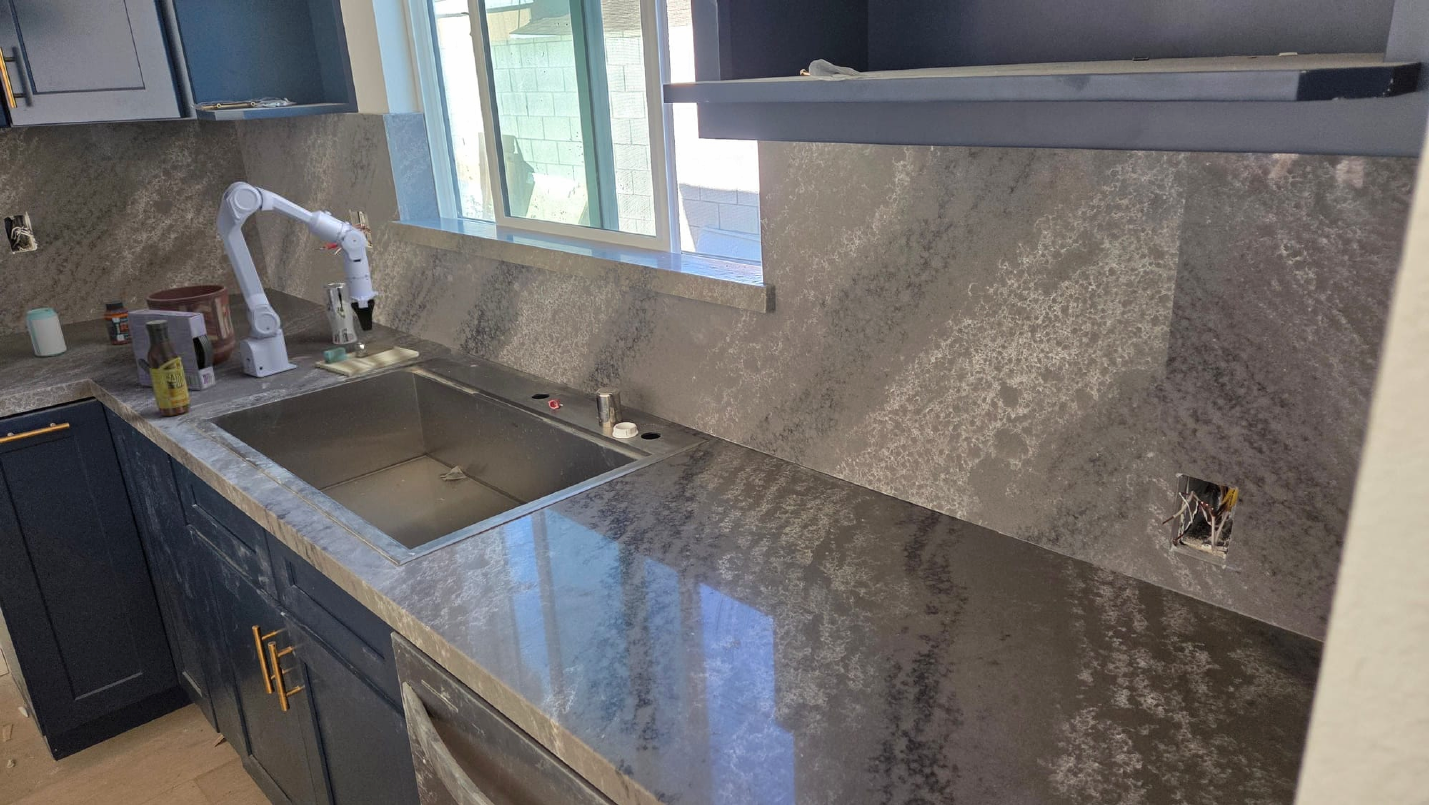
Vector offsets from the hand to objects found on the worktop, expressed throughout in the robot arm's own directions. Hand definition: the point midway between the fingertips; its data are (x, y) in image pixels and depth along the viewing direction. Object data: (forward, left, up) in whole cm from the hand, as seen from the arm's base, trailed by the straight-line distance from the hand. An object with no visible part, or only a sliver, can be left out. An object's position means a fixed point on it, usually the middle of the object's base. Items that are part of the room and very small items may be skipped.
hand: (367, 330), depth 250 cm
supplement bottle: (-31, +73, -6) cm, 79 cm away
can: (-47, +78, -6) cm, 91 cm away
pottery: (-28, +32, -6) cm, 43 cm away
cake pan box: (-40, +16, -6) cm, 43 cm away
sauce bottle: (-50, -3, -6) cm, 50 cm away
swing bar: (-2, -5, -5) cm, 7 cm away
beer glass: (+2, +16, -6) cm, 17 cm away
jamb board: (-5, -6, -6) cm, 10 cm away
